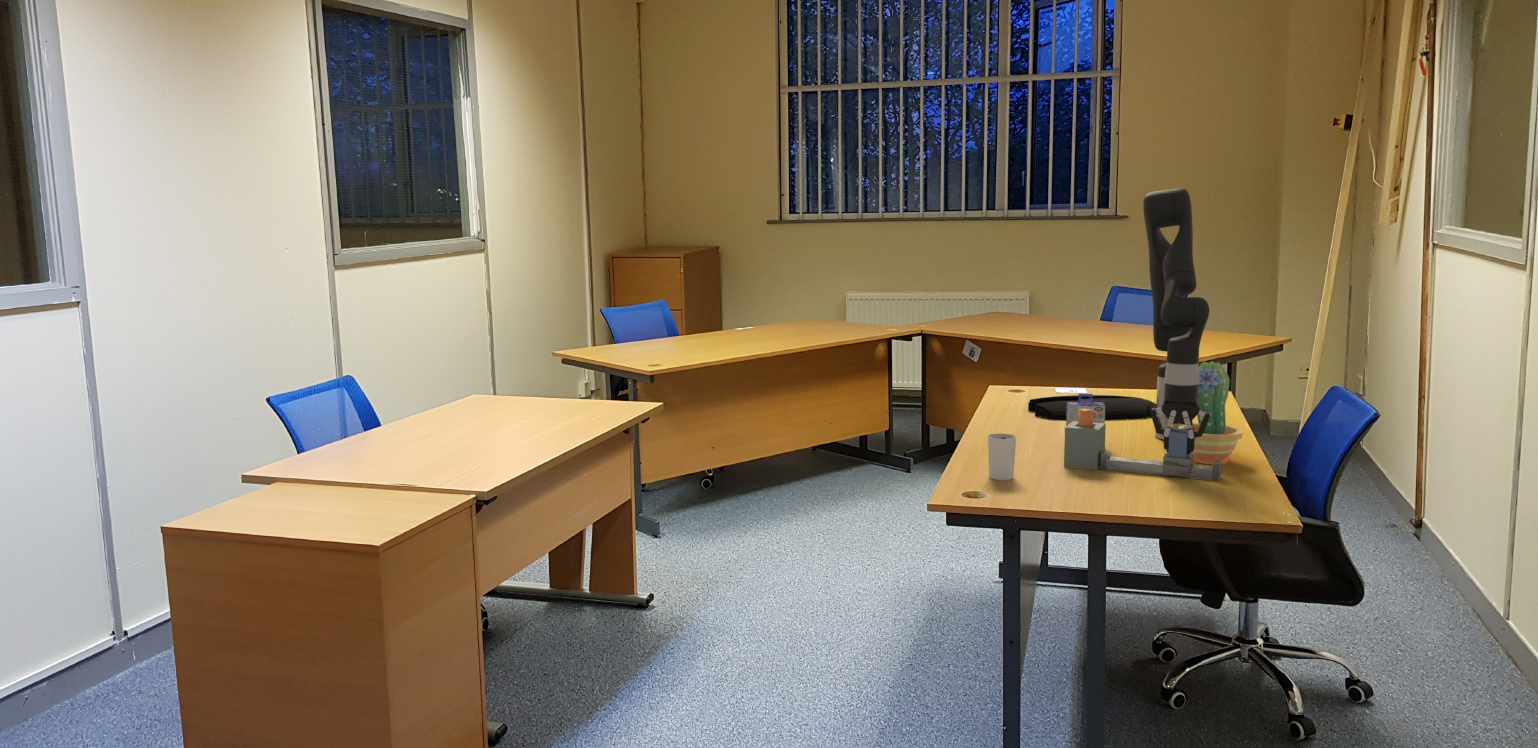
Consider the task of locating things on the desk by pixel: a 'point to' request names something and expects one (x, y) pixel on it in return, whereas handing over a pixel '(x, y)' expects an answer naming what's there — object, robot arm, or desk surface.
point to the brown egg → (1085, 418)
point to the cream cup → (1001, 456)
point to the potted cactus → (1214, 416)
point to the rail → (1157, 467)
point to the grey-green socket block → (1084, 445)
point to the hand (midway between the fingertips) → (1178, 452)
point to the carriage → (1178, 454)
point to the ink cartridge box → (1085, 404)
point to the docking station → (1113, 404)
